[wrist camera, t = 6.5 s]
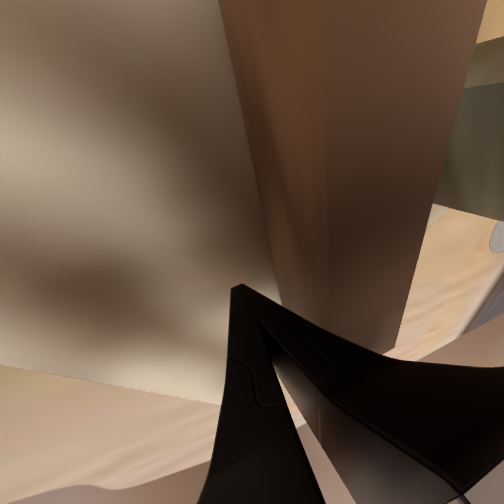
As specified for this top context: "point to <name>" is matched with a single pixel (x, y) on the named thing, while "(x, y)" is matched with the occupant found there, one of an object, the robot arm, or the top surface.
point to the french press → (497, 238)
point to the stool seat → (155, 189)
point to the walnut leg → (349, 144)
